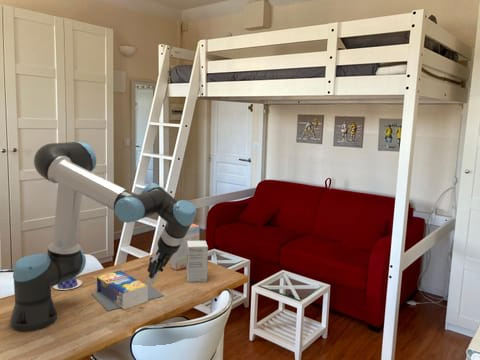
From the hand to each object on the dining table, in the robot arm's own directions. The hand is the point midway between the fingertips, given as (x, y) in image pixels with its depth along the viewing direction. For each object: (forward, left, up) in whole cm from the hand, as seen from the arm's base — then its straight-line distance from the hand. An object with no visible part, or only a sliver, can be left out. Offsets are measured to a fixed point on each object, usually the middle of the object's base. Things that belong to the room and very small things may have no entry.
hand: (150, 280), depth 151 cm
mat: (0, +22, -14) cm, 26 cm away
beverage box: (-1, +12, -11) cm, 16 cm away
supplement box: (+34, +22, -14) cm, 44 cm away
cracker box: (+37, +38, -14) cm, 56 cm away
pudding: (-17, +47, -15) cm, 52 cm away
